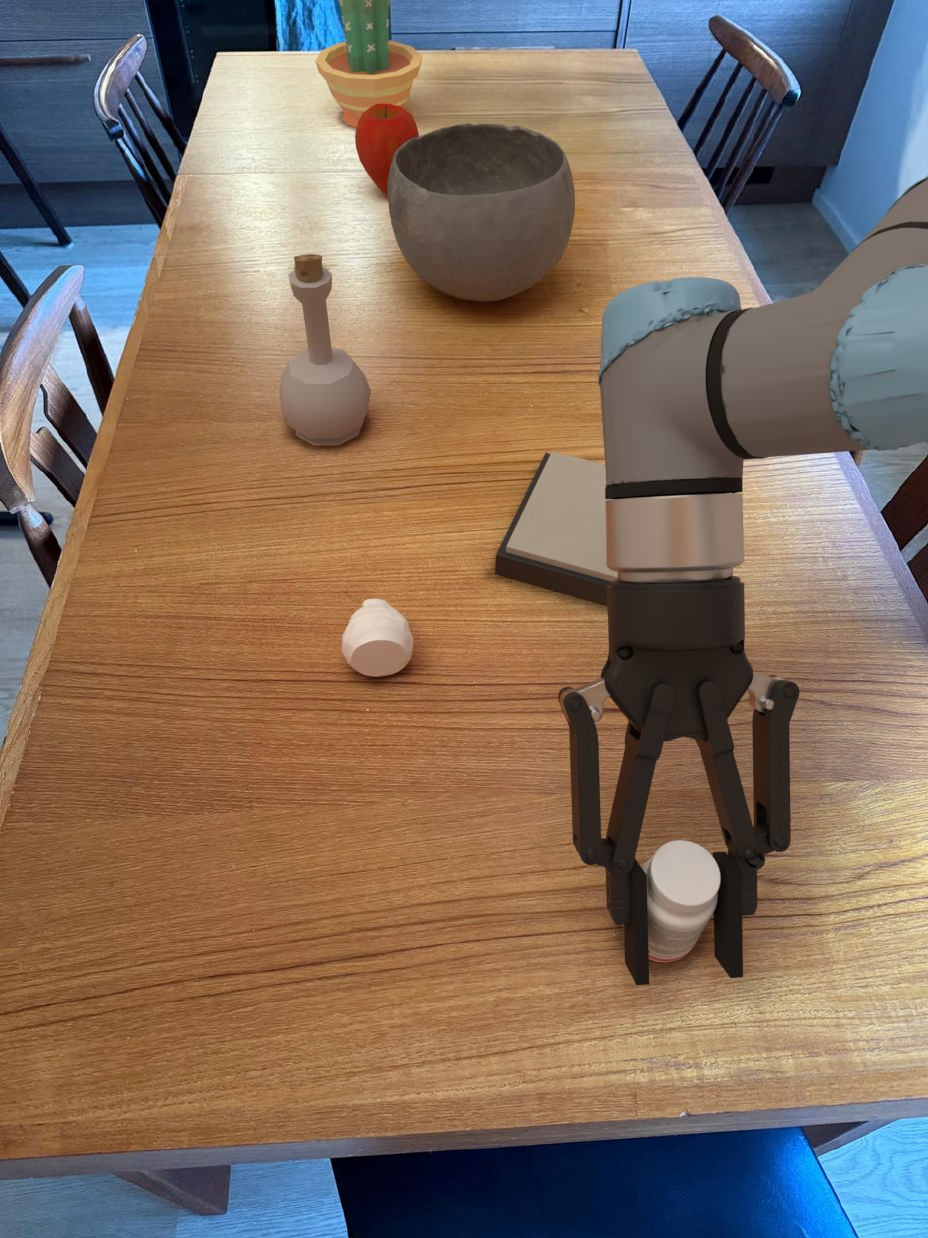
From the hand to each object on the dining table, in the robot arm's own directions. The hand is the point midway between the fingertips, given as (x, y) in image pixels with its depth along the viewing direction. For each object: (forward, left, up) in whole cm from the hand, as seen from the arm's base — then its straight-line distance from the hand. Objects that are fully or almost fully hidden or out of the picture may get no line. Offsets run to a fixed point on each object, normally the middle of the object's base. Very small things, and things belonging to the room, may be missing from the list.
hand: (682, 969), depth 53 cm
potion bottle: (+44, -41, -3) cm, 60 cm away
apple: (+58, -88, -3) cm, 106 cm away
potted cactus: (+70, -109, -3) cm, 130 cm away
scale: (+14, -35, -3) cm, 38 cm away
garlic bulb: (+28, -17, -3) cm, 33 cm away
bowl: (+39, -71, -3) cm, 81 cm away
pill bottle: (+2, -3, -3) cm, 5 cm away
